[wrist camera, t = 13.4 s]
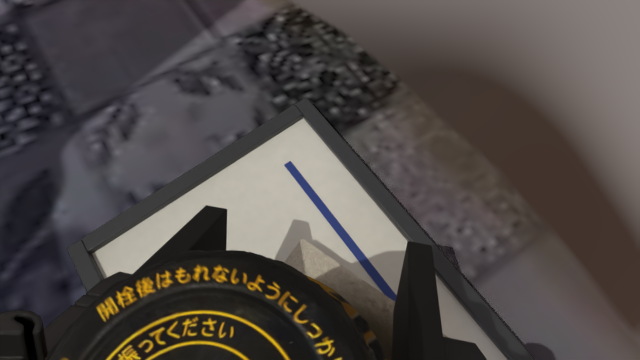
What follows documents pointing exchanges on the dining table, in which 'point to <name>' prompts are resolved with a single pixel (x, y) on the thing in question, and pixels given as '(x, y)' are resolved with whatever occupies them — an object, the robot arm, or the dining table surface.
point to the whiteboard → (296, 220)
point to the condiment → (235, 312)
